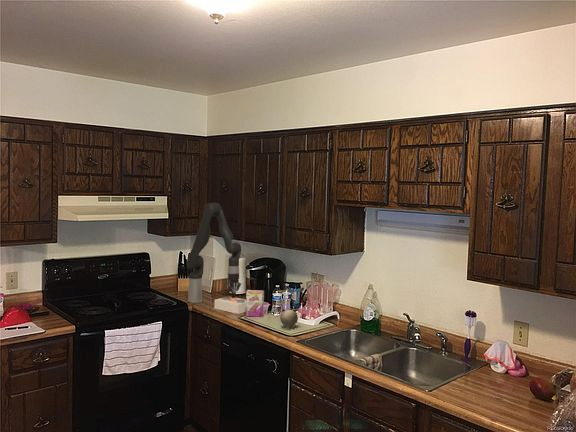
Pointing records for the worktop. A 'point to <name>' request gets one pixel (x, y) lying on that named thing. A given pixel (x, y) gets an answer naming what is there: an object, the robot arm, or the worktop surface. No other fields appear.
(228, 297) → the grey button
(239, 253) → the robot arm
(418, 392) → the worktop surface
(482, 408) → the worktop surface
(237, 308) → the control panel
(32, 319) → the worktop surface
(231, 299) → the terracotta button
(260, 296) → the candy bar box
